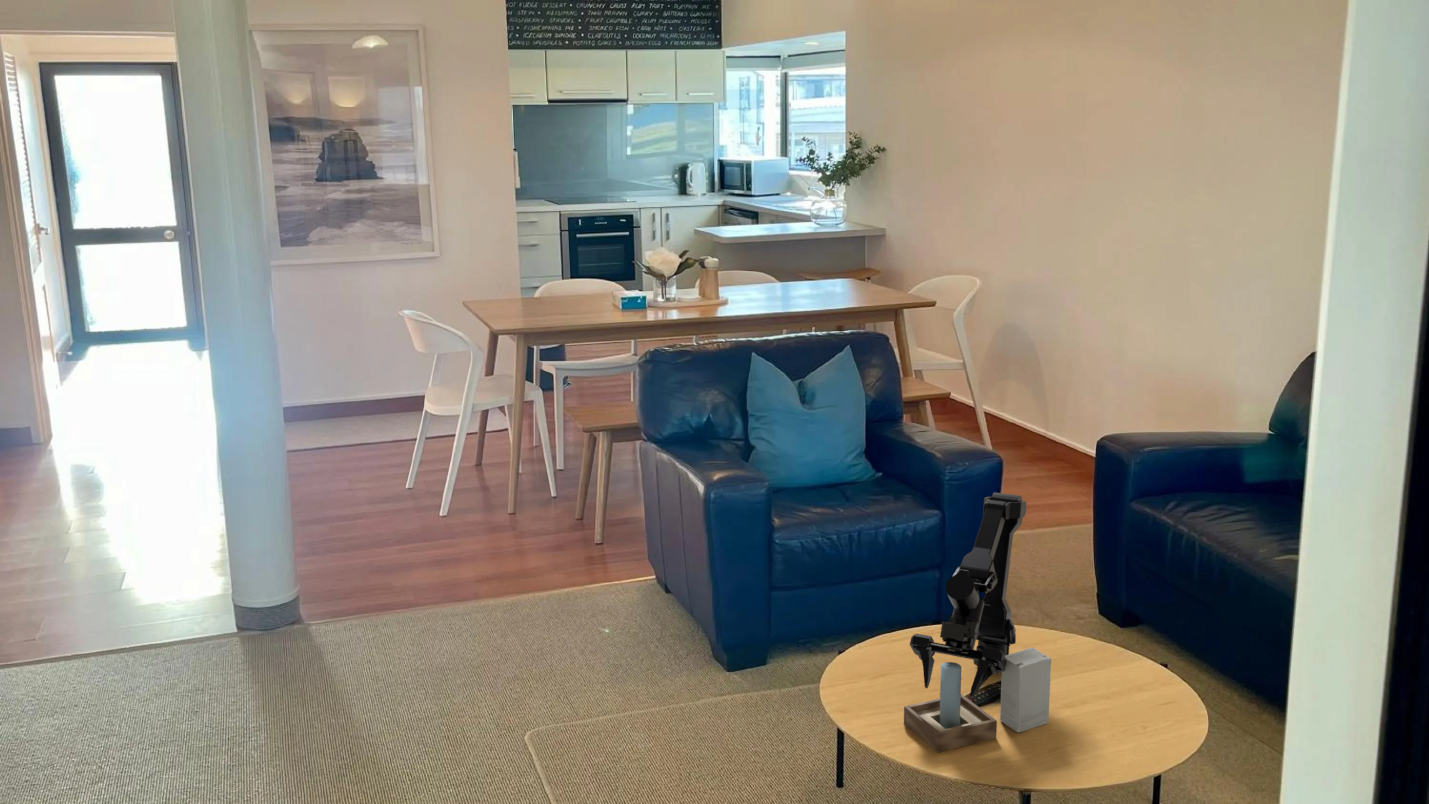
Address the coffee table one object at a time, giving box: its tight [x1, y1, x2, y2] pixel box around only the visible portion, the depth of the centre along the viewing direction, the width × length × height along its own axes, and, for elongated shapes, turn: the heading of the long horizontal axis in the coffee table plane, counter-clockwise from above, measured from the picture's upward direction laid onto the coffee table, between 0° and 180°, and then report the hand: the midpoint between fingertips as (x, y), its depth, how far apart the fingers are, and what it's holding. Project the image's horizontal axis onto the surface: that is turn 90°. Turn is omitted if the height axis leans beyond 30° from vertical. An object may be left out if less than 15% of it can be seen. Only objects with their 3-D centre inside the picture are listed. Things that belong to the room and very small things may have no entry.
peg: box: [939, 661, 962, 729], centre depth 235 cm, size 4×4×14 cm
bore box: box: [903, 693, 998, 753], centre depth 237 cm, size 14×13×4 cm
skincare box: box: [999, 647, 1052, 733], centre depth 238 cm, size 8×6×15 cm
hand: (948, 692), depth 234 cm, fingers open, 9 cm apart
